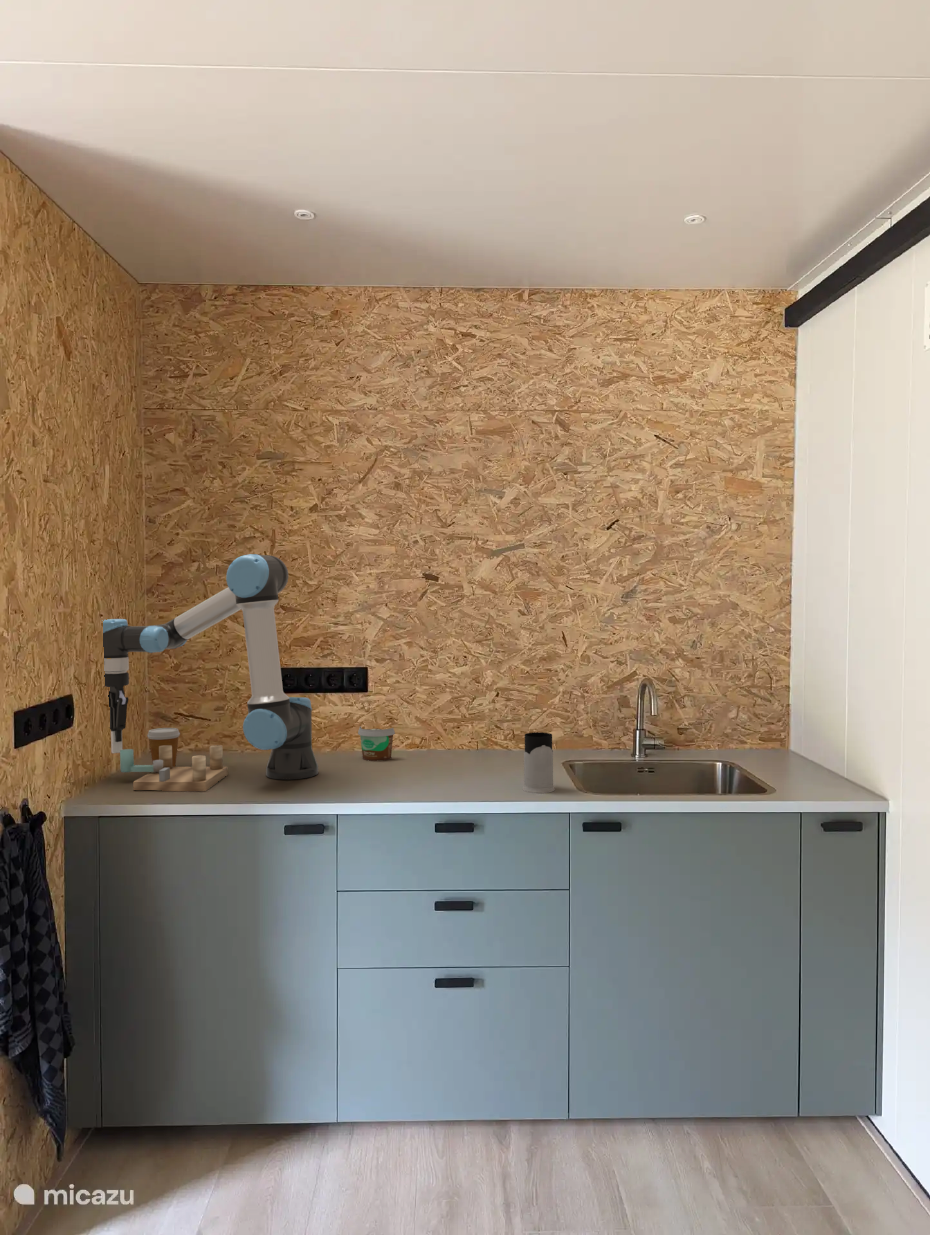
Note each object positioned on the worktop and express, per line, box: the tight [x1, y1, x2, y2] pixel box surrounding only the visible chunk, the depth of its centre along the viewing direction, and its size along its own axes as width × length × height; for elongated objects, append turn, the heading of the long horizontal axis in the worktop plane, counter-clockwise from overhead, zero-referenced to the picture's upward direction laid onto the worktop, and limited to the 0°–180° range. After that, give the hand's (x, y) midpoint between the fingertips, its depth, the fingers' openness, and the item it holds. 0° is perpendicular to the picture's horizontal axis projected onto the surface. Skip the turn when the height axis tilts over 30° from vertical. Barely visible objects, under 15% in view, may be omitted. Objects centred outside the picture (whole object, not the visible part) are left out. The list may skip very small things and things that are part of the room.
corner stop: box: [159, 768, 170, 782], centre depth 251 cm, size 2×4×3 cm, turn 177°
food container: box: [357, 725, 396, 762], centre depth 290 cm, size 12×6×10 cm, turn 73°
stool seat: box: [132, 744, 229, 792], centre depth 259 cm, size 20×20×9 cm
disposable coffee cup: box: [147, 727, 181, 767], centre depth 277 cm, size 10×10×12 cm
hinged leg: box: [119, 748, 163, 773], centre depth 261 cm, size 12×4×6 cm, turn 87°
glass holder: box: [522, 731, 556, 794], centre depth 250 cm, size 9×14×15 cm, turn 16°
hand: (117, 752), depth 266 cm, fingers closed
